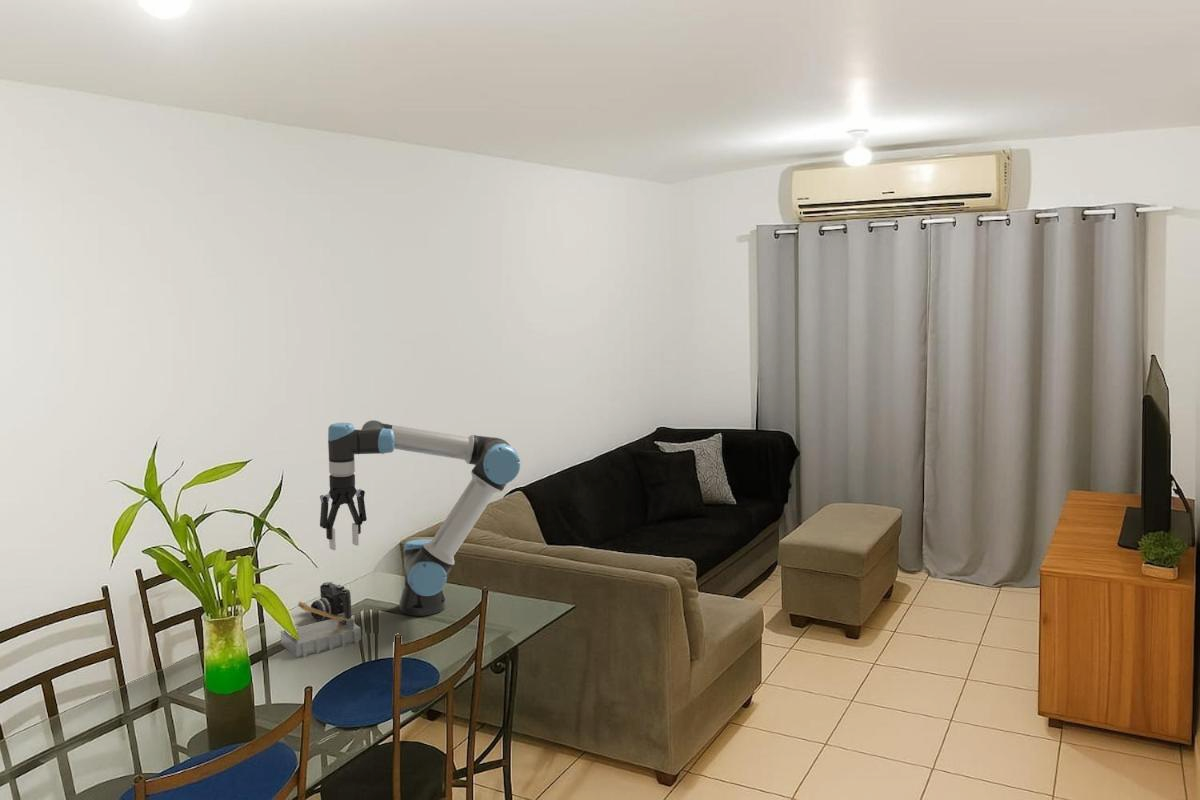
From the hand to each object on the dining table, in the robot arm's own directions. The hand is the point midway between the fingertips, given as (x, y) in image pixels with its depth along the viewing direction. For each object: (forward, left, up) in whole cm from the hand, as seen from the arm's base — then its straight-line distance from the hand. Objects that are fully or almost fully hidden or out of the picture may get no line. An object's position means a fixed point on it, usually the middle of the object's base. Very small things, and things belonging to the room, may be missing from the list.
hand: (344, 546), depth 287 cm
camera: (0, -14, -27) cm, 31 cm away
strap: (+9, +4, -19) cm, 21 cm away
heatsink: (+10, +4, -27) cm, 29 cm away
